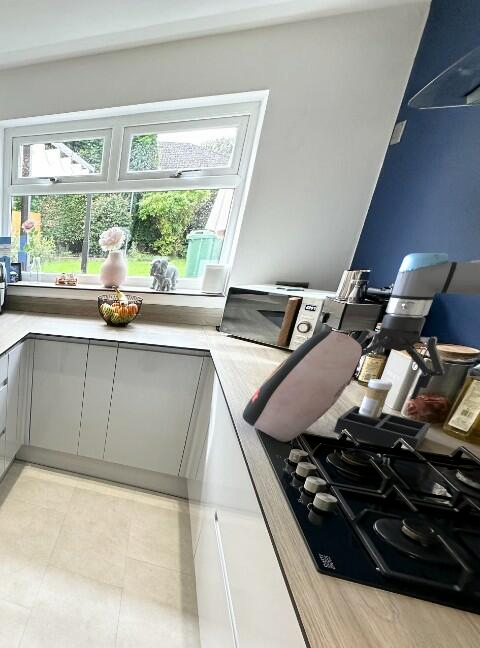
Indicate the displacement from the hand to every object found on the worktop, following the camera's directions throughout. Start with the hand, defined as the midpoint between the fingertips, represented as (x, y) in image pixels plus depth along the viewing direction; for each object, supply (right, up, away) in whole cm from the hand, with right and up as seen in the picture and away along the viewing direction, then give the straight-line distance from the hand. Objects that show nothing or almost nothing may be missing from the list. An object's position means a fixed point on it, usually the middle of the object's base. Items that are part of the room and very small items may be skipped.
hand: (378, 391), depth 111 cm
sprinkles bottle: (0, -10, +4) cm, 11 cm away
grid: (-1, -12, -1) cm, 12 cm away
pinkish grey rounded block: (-26, -12, 0) cm, 29 cm away
